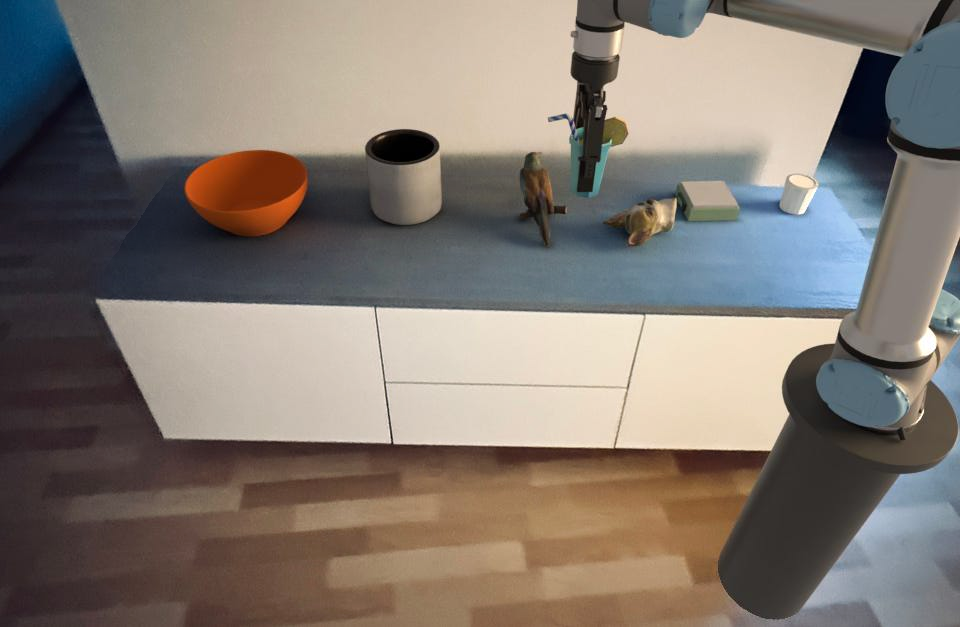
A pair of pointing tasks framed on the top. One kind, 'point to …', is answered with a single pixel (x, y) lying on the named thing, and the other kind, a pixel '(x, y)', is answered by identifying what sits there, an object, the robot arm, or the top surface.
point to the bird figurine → (538, 195)
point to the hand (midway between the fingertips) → (581, 180)
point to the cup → (612, 136)
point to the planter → (404, 176)
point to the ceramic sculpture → (645, 220)
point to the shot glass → (797, 193)
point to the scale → (706, 201)
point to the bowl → (248, 191)
